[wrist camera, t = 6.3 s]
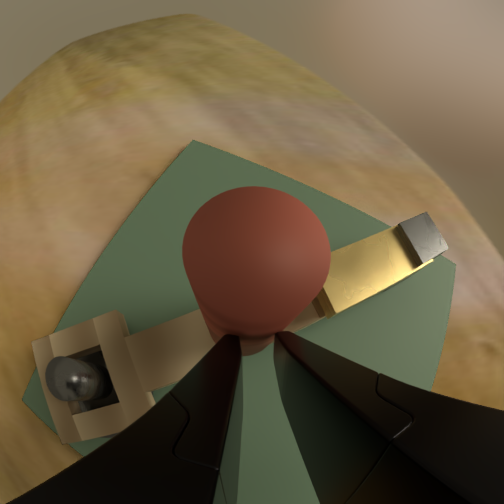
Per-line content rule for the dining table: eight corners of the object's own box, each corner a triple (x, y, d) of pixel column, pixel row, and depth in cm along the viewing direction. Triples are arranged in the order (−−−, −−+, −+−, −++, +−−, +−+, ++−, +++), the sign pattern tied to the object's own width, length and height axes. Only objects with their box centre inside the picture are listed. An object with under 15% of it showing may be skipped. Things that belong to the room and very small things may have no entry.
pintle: (126, 456, 12) (93, 477, 8) (45, 391, 13) (-2, 386, 8) (176, 366, 14) (155, 359, 10) (89, 308, 15) (50, 282, 11)
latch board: (340, 553, 9) (343, 557, 9) (27, 400, 12) (21, 399, 12) (451, 267, 18) (456, 264, 18) (193, 145, 21) (193, 139, 21)
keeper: (387, 249, 18) (425, 210, 14) (405, 281, 18) (449, 249, 13) (290, 291, 17) (312, 255, 12) (309, 331, 16) (340, 310, 11)
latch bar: (73, 441, 11) (-50, 463, 2) (42, 345, 13) (-77, 294, 5) (382, 314, 15) (498, 241, 7) (335, 231, 17) (402, 115, 9)
